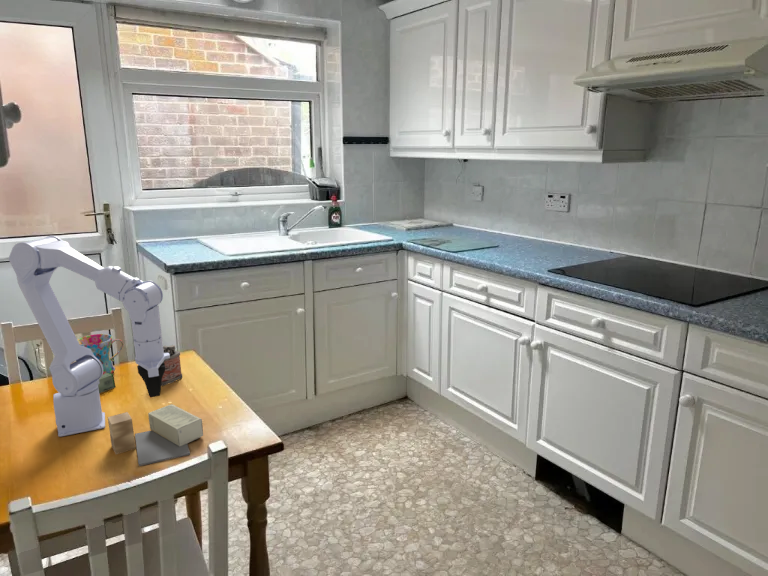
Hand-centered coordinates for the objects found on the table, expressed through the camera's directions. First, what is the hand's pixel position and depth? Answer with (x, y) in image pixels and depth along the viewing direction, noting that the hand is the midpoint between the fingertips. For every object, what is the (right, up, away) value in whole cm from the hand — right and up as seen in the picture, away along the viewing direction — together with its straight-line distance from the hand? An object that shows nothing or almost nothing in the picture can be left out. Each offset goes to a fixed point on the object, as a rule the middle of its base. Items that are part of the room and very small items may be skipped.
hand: (154, 395), depth 128 cm
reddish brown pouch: (-8, -2, +30) cm, 31 cm away
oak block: (-5, -10, -4) cm, 12 cm away
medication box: (-25, -4, +22) cm, 34 cm away
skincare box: (0, -5, +4) cm, 7 cm away
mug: (-29, -1, +35) cm, 45 cm away
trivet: (+3, -10, -3) cm, 11 cm away
